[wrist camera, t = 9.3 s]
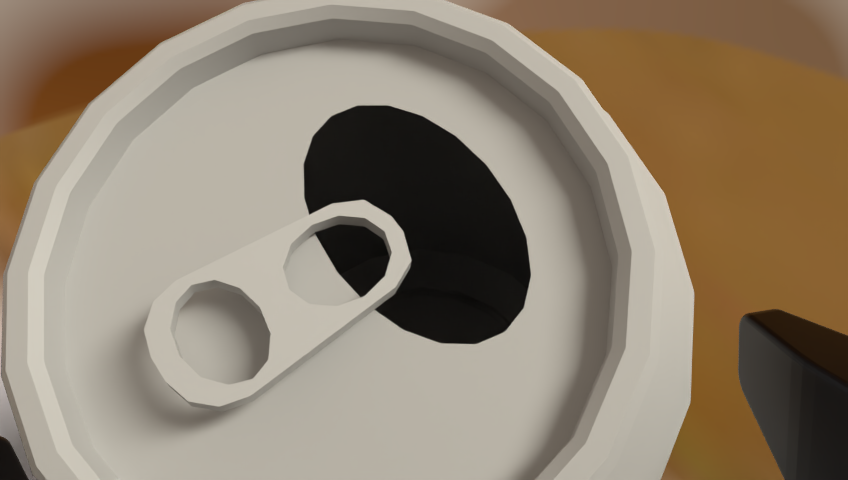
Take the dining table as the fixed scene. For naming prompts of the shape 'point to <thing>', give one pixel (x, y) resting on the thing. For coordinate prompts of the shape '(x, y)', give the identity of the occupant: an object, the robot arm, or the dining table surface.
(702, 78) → the dining table surface
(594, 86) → the dining table surface
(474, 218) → the can
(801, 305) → the dining table surface
